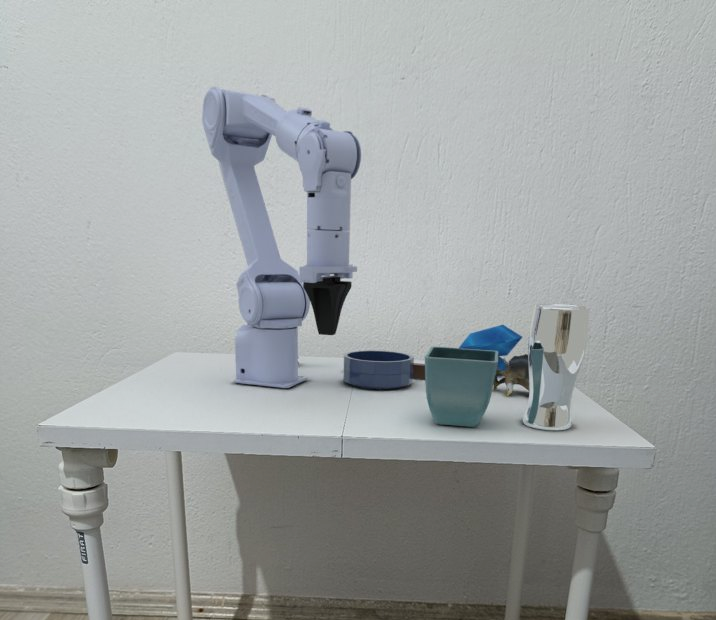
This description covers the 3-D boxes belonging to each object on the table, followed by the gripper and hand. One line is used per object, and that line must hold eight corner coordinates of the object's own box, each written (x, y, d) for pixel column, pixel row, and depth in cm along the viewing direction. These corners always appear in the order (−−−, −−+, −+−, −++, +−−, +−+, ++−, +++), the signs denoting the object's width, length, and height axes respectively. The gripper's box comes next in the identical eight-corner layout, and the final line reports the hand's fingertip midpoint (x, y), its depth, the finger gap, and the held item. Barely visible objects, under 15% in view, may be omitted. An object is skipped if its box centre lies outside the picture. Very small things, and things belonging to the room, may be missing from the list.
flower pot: (491, 433, 81) (498, 360, 78) (419, 428, 83) (424, 356, 80) (491, 416, 89) (498, 350, 86) (426, 411, 91) (431, 346, 88)
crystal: (452, 330, 121) (519, 318, 118) (459, 377, 124) (525, 366, 121) (450, 336, 114) (521, 323, 111) (458, 385, 117) (527, 373, 114)
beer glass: (512, 417, 89) (525, 303, 84) (562, 417, 90) (578, 304, 85) (529, 431, 83) (544, 308, 78) (582, 431, 84) (601, 309, 78)
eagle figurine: (477, 387, 102) (533, 385, 96) (485, 345, 103) (540, 341, 98) (496, 407, 107) (550, 406, 102) (504, 367, 109) (557, 363, 104)
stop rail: (345, 372, 117) (346, 358, 116) (348, 370, 118) (349, 357, 117) (434, 380, 112) (435, 366, 111) (436, 379, 113) (437, 365, 112)
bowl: (333, 386, 105) (333, 358, 103) (356, 374, 115) (357, 348, 113) (401, 393, 102) (402, 364, 100) (419, 380, 112) (420, 353, 110)
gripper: (336, 230, 80) (334, 343, 85) (373, 232, 93) (370, 330, 98) (284, 228, 82) (284, 339, 87) (327, 231, 95) (326, 327, 100)
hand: (327, 334), depth 93 cm, fingers closed
